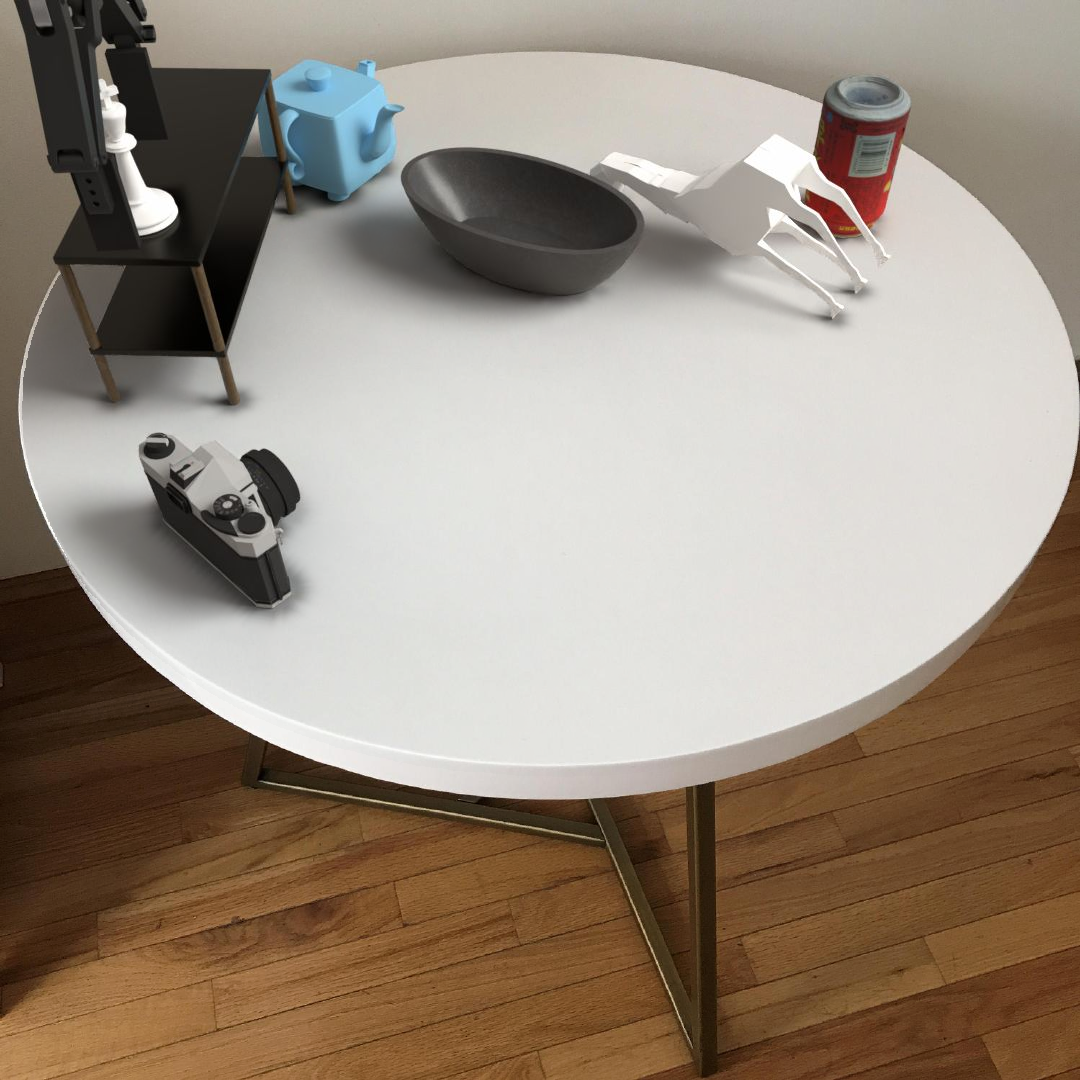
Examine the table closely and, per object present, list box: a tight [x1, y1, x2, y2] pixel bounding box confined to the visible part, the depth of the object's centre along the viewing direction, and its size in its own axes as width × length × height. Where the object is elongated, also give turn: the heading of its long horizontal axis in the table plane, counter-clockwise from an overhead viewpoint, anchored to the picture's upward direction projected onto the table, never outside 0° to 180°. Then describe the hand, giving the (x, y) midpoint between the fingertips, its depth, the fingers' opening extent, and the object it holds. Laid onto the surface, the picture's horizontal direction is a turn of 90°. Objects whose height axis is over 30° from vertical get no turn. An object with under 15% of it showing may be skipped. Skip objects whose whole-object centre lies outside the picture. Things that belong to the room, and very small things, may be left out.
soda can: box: [804, 74, 912, 239], centre depth 99 cm, size 7×7×12 cm
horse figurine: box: [588, 133, 892, 320], centre depth 97 cm, size 5×16×25 cm
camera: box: [138, 432, 301, 610], centre depth 77 cm, size 13×8×9 cm, turn 49°
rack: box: [52, 67, 298, 406], centre depth 92 cm, size 26×10×13 cm, turn 178°
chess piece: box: [98, 78, 178, 236], centre depth 78 cm, size 5×5×10 cm
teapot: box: [257, 58, 406, 202], centre depth 105 cm, size 18×14×10 cm
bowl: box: [400, 146, 646, 296], centre depth 97 cm, size 12×22×6 cm, turn 60°
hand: (136, 189), depth 80 cm, fingers open, 13 cm apart
